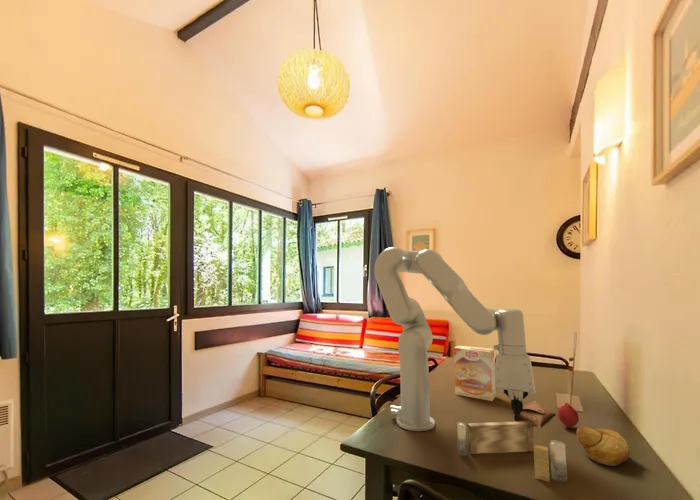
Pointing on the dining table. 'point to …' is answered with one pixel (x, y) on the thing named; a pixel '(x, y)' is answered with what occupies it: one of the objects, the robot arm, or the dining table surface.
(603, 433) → the bread roll
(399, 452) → the dining table surface
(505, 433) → the strip
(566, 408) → the red round fruit
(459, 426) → the hinge post
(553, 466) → the slab and cylinder
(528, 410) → the sunglasses case
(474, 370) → the coffeecake box
